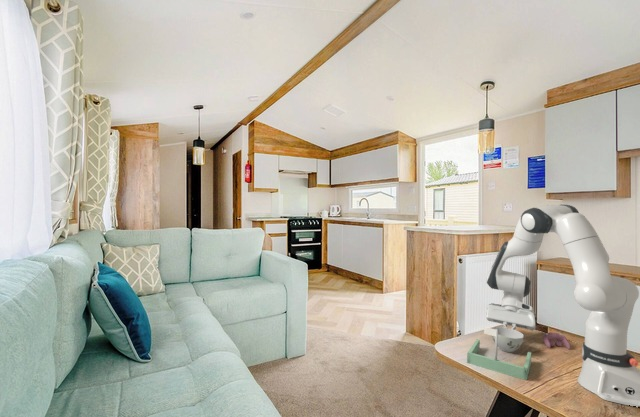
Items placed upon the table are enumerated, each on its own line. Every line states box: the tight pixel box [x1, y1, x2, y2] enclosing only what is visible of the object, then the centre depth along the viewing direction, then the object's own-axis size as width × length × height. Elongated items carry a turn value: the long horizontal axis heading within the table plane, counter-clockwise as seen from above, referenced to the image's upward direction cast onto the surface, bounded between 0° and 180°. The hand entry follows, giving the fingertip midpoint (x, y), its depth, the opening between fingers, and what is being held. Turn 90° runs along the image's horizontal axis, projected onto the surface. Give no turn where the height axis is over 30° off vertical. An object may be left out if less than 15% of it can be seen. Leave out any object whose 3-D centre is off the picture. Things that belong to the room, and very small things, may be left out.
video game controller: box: [542, 332, 571, 350], centre depth 146 cm, size 10×5×7 cm, turn 85°
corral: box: [466, 326, 532, 381], centre depth 130 cm, size 20×17×16 cm
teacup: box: [490, 326, 525, 353], centre depth 143 cm, size 15×12×8 cm
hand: (508, 333), depth 148 cm, fingers closed
